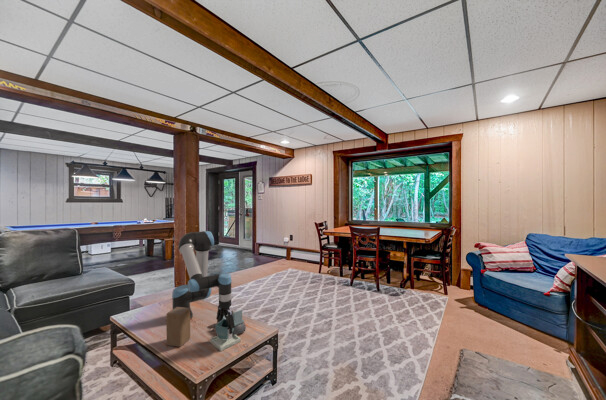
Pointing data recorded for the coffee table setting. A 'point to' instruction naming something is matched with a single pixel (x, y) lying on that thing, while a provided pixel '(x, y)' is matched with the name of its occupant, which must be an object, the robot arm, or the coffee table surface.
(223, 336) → the flower pot
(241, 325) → the trolley
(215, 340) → the tray
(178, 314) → the wooden block
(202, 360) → the coffee table surface
